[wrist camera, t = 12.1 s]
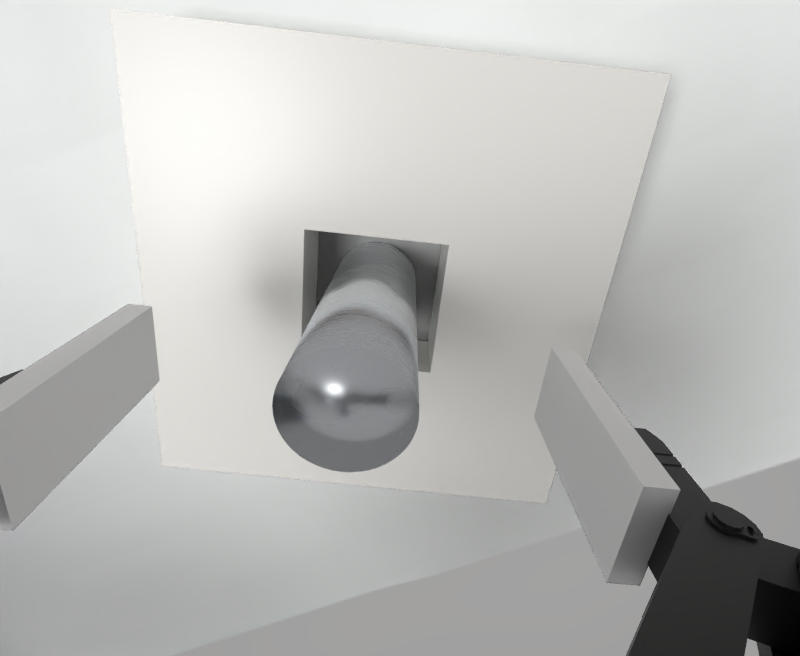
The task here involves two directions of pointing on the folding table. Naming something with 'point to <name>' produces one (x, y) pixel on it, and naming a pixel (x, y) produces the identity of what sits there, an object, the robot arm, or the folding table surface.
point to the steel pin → (355, 367)
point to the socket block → (371, 228)
